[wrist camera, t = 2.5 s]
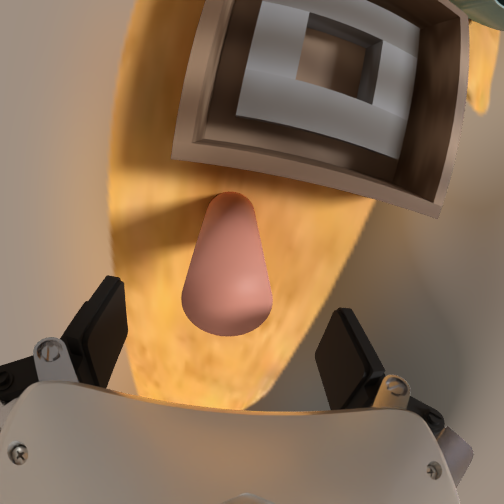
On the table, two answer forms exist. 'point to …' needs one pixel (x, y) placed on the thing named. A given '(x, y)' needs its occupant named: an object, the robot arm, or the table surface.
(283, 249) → the table surface
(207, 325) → the peg
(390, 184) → the open box
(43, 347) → the robot arm
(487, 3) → the flower pot
